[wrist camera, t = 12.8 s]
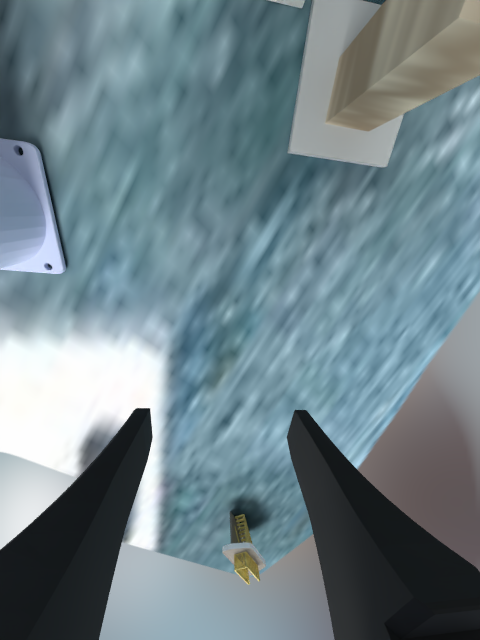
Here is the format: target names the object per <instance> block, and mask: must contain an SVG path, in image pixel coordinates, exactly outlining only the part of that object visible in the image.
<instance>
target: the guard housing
mask: <svg viewBox="0 0 480 640" xmlns="http://www.w3.org/2000/svg"><path fill="white" fill-rule="evenodd" d="M268 1H273V2H277V3H281V4H285V5H290V6H294V7H298V8H302V7H303V4H304V2H305V0H268Z"/></svg>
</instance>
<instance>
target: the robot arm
mask: <svg viewBox="0 0 480 640" xmlns="http://www.w3.org/2000/svg"><path fill="white" fill-rule="evenodd" d="M20 147H21V148H22V149H23V155H22V156H21V155H20V153H19V148H20ZM48 263H49V264H50V265H51V266H52V269H51V268H49V266H48ZM0 269H1V270H14V271H27V272H40V273H53V274H61V273H63V272H65V270H66V265H65V261H64V256H63V252H62V247H61V243H60V238H59V234H58V229H57V225H56V220H55V216H54V211H53V207H52V202H51V198H50V194H49V189H48V185H47V180H46V176H45V171H44V167H43V162H42V158H41V154H40V151H39V149H38V148H37V147H36V146H35V145H33V144H31V143H28V142H23V141H16V140H9V139H2V138H0ZM287 440H288V445H289V450H290V455H291V459H292V463H293V466H294V469H295V472H296V475H297V479H298V482H299V485H300V488H301V491H302V494H303V497H304V501H305V504H306V507H307V510H308V514H309V517H310V521H311V525H312V529H313V534H314V538H315V542H316V547H317V551H318V556H319V560H320V565H321V570H322V574H323V579H324V585H325V590H326V594H327V600H328V605H329V610H330V616H331V621H332V627H333V633H334V639H335V640H480V572H479V571H478V569H477V568H476V567H475V566H473V565H472V564H470V563H469V562H468V561H466V560H465V559H464V558H462V557H461V556H459V555H458V554H457V553H455V552H454V551H452V550H451V549H449V548H448V547H447V546H445V545H444V544H443V543H441V542H440V541H438V540H437V539H436V538H435V537H433V536H432V535H431V534H430V533H428V532H427V531H426V530H424V529H423V528H422V527H421V526H419V525H418V524H417V523H415V522H414V521H413V520H412V519H411V518H409V517H408V516H407V515H406V514H405V513H403V512H402V511H401V510H400V509H399V508H398V507H396V506H395V505H394V504H393V503H392V502H391V501H389V500H388V499H387V498H386V497H385V496H384V495H383V494H382V493H381V492H379V491H378V490H377V489H376V488H375V487H374V486H373V485H372V484H371V483H370V482H369V481H368V480H367V479H366V478H365V477H363V475H362V474H361V473H360V472H359V471H358V470H357V469H356V468H355V467H354V466H353V465H352V464H351V463H350V462H349V461H348V460H347V458H346V457H345V456H344V455H343V454H342V453H341V452H340V451H339V449H338V448H337V447H336V446H335V445H334V444H333V442H332V441H331V440H330V439H329V438H328V437H327V435H326V434H325V433H324V432H323V430H322V429H321V428H320V427H319V426H318V424H317V423H316V422H315V421H314V419H313V418H312V417H311V416H310V414H309V413H308V412H307V411H306V410H295V411H294V414H293V418H292V421H291V425H290V428H289V432H288V435H287ZM151 442H152V426H151V415H150V408H136V409H135V410H134V411H133V413H132V414H131V416H130V417H129V418H128V420H127V421H126V422H125V424H124V425H123V426H122V427H121V429H120V430H119V431H118V433H117V434H116V435H115V436H114V438H113V439H112V440H111V441H110V442H109V444H108V445H107V446H106V447H105V448H104V450H103V451H102V452H101V453H100V454H99V455H98V457H97V458H96V459H95V460H94V461H93V462H92V463H91V464H90V465H89V467H88V468H87V469H86V470H85V471H84V472H83V473H82V474H81V475H80V476H79V477H78V478H77V480H76V481H75V482H74V483H73V484H72V485H71V486H70V487H69V488H68V489H67V490H66V491H65V492H64V493H63V494H62V495H61V496H60V497H59V498H58V499H57V500H56V501H55V502H53V503H52V504H51V505H50V506H49V507H48V508H47V509H46V510H45V511H44V512H43V513H42V514H41V515H40V516H39V517H37V518H36V519H35V520H34V521H33V522H32V523H31V524H30V525H29V526H28V527H26V528H25V529H24V530H23V531H22V532H21V533H20V534H18V535H17V536H16V537H15V538H14V539H13V540H11V541H10V542H9V543H8V544H7V545H6V546H4V547H3V548H2V549H1V550H0V640H99V636H100V631H101V627H102V623H103V618H104V614H105V610H106V605H107V601H108V596H109V592H110V588H111V584H112V580H113V575H114V571H115V567H116V563H117V559H118V555H119V550H120V547H121V543H122V539H123V535H124V531H125V527H126V524H127V521H128V517H129V514H130V511H131V508H132V505H133V502H134V499H135V496H136V493H137V490H138V487H139V484H140V481H141V478H142V475H143V472H144V469H145V466H146V463H147V460H148V455H149V451H150V447H151Z"/></svg>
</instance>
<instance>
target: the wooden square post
mask: <svg viewBox="0 0 480 640" xmlns="http://www.w3.org/2000/svg"><path fill="white" fill-rule="evenodd" d="M479 75H480V0H385V2H384V3H383V4H382V5H381V7H380V8H379V9H378V10H377V12H376V13H375V14H374V15H373V17H372V18H371V19H370V20H369V22H368V23H367V24H366V25H365V27H364V28H363V29H362V30H361V31H360V33H359V34H358V35H357V36H356V38H355V39H354V40H353V41H352V43H351V44H350V45H349V46H348V48H347V49H346V50H345V51H344V53H343V54H342V55H341V56H340V58H339V62H338V67H337V71H336V76H335V80H334V85H333V89H332V94H331V99H330V103H329V108H328V112H327V117H326V121H325V123H326V124H331V125H336V126H342V127H347V128H352V129H357V130H363V131H368V132H369V131H371V130H373V129H375V128H377V127H379V126H381V125H382V124H384V123H386V122H388V121H390V120H392V119H394V118H396V117H398V116H400V115H402V114H404V113H406V112H408V111H410V110H412V109H414V108H416V107H418V106H420V105H422V104H424V103H426V102H428V101H430V100H432V99H434V98H436V97H438V96H440V95H442V94H444V93H446V92H447V91H449V90H451V89H453V88H455V87H457V86H459V85H461V84H463V83H465V82H467V81H469V80H471V79H473V78H475V77H477V76H479Z"/></svg>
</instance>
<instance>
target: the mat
mask: <svg viewBox="0 0 480 640" xmlns="http://www.w3.org/2000/svg"><path fill="white" fill-rule="evenodd" d="M380 7H381V5H379V4H375V3H371V2H367V1H363V0H312V4H311V10H310V17H309V23H308V29H307V35H306V41H305V47H304V54H303V60H302V66H301V72H300V78H299V85H298V91H297V97H296V103H295V109H294V116H293V122H292V128H291V134H290V140H289V146H288V153H290V154H297V155H303V156H310V157H316V158H323V159H329V160H336V161H342V162H349V163H355V164H362V165H369V166H375V167H382V168H383V167H387V165H388V162H389V159H390V156H391V152H392V149H393V146H394V143H395V140H396V137H397V134H398V131H399V128H400V125H401V122H402V118H403V115H404V114H402V115H400V116H398V117H396V118H394V119H392V120H390V121H388V122H386V123H384V124H382V125H381V126H379V127H377V128H375V129H373V130H371V131H369V132H368V131H363V130H357V129H352V128H347V127H342V126H336V125H331V124H326V123H325V121H326V117H327V112H328V108H329V103H330V99H331V94H332V89H333V85H334V80H335V76H336V71H337V67H338V62H339V58H340V56H341V55H342V54H343V53H344V51H345V50H346V49H347V48H348V46H349V45H350V44H351V43H352V41H353V40H354V39H355V38H356V36H357V35H358V34H359V33H360V31H361V30H362V29H363V28H364V27H365V25H366V24H367V23H368V22H369V20H370V19H371V18H372V17H373V15H374V14H375V13H376V12H377V10H378V9H379V8H380Z"/></svg>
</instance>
